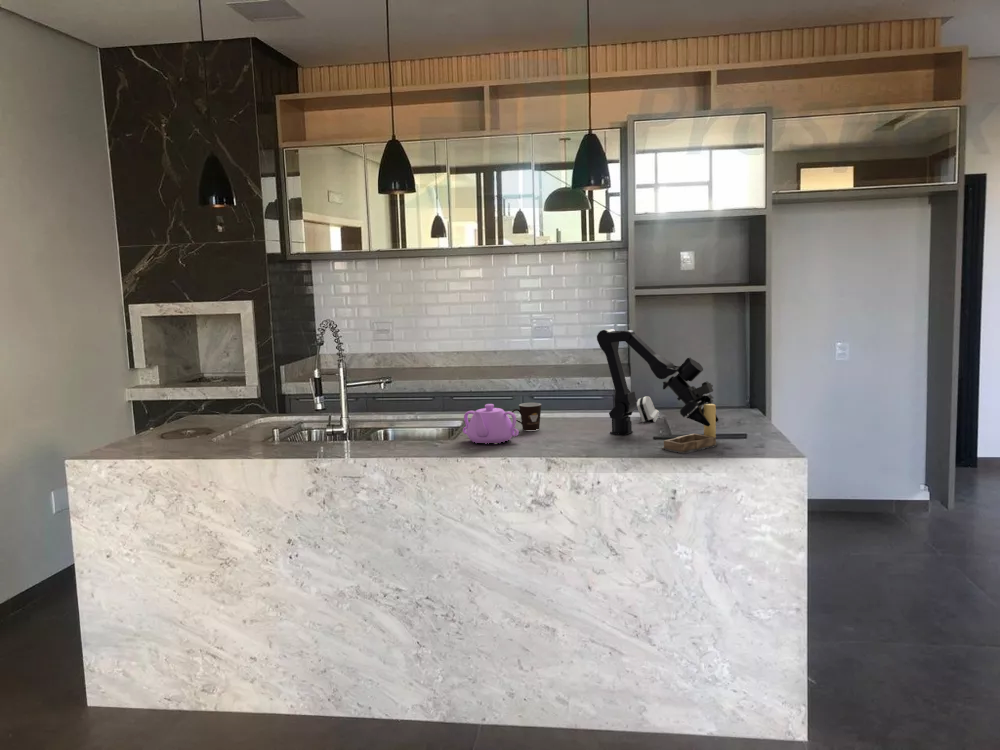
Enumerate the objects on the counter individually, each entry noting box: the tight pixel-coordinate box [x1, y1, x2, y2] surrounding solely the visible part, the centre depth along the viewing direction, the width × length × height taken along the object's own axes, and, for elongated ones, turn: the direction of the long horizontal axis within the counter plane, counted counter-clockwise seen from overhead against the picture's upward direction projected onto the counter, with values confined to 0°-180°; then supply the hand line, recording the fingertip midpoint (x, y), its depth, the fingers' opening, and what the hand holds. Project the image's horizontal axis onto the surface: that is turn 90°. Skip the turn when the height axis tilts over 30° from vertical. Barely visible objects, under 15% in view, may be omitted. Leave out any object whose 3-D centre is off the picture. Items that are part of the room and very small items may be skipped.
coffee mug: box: [511, 402, 542, 430], centre depth 303 cm, size 12×9×10 cm
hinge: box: [636, 395, 660, 423], centre depth 317 cm, size 17×5×10 cm, turn 162°
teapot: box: [462, 403, 520, 445], centre depth 283 cm, size 22×22×14 cm
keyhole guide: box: [660, 433, 718, 455], centre depth 264 cm, size 16×10×3 cm, turn 124°
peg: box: [703, 403, 717, 438], centre depth 271 cm, size 4×4×13 cm
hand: (713, 423), depth 270 cm, fingers open, 8 cm apart
